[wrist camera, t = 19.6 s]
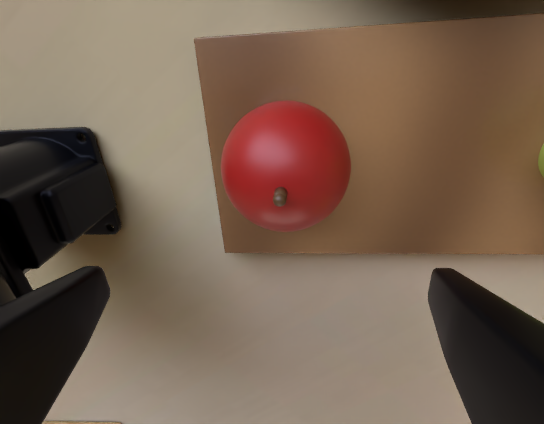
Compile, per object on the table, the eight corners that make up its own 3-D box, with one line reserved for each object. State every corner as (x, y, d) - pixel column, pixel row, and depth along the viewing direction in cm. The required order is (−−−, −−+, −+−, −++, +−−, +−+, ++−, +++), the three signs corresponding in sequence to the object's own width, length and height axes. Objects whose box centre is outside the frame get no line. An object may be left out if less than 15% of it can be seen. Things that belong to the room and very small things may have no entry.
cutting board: (230, 239, 20) (224, 253, 19) (203, 39, 15) (193, 38, 14) (624, 239, 17) (650, 255, 16) (744, 0, 13) (796, -6, 11)
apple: (241, 199, 17) (210, 269, 11) (229, 95, 15) (184, 121, 9) (341, 198, 16) (358, 271, 11) (345, 89, 14) (371, 113, 9)
